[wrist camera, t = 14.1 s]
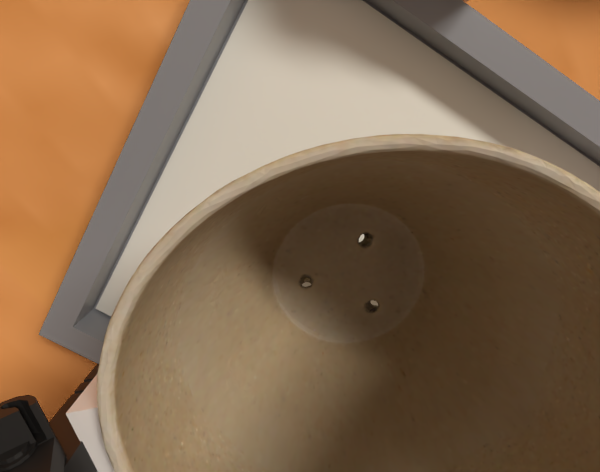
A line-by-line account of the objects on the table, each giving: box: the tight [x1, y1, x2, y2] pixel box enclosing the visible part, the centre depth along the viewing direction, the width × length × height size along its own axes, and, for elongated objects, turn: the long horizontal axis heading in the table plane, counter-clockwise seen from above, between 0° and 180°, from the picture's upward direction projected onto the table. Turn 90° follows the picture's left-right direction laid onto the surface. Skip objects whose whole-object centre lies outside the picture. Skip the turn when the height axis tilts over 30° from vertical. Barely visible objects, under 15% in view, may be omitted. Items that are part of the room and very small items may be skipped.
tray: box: [39, 0, 600, 364], centre depth 15 cm, size 17×17×2 cm
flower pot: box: [97, 134, 600, 472], centre depth 10 cm, size 10×10×7 cm
